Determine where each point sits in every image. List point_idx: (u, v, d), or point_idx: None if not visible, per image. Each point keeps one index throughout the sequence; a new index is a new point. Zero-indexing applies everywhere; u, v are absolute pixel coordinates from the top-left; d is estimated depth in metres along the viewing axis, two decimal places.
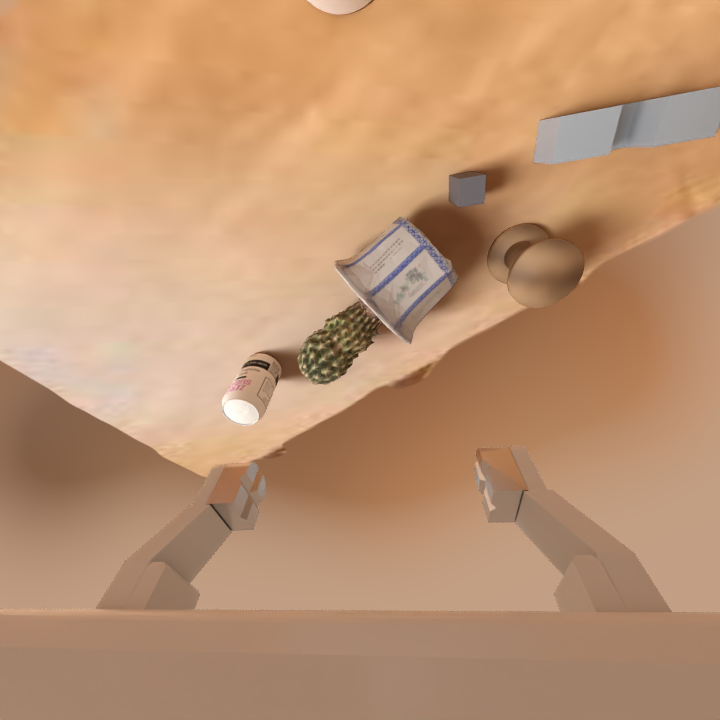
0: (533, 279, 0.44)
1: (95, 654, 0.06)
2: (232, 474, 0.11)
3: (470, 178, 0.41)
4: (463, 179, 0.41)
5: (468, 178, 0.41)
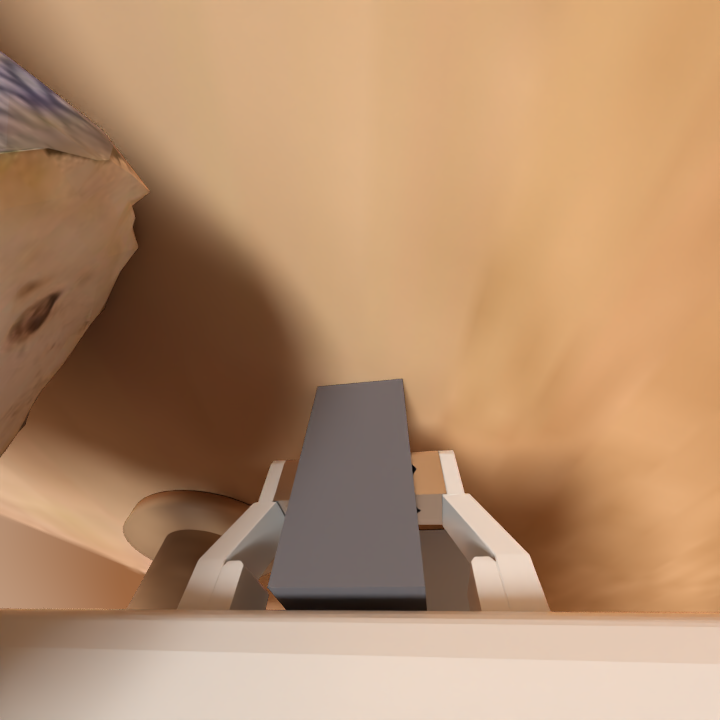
0: None
1: (95, 654, 0.06)
2: (294, 471, 0.10)
3: (420, 610, 0.07)
4: (419, 596, 0.07)
5: (421, 606, 0.07)
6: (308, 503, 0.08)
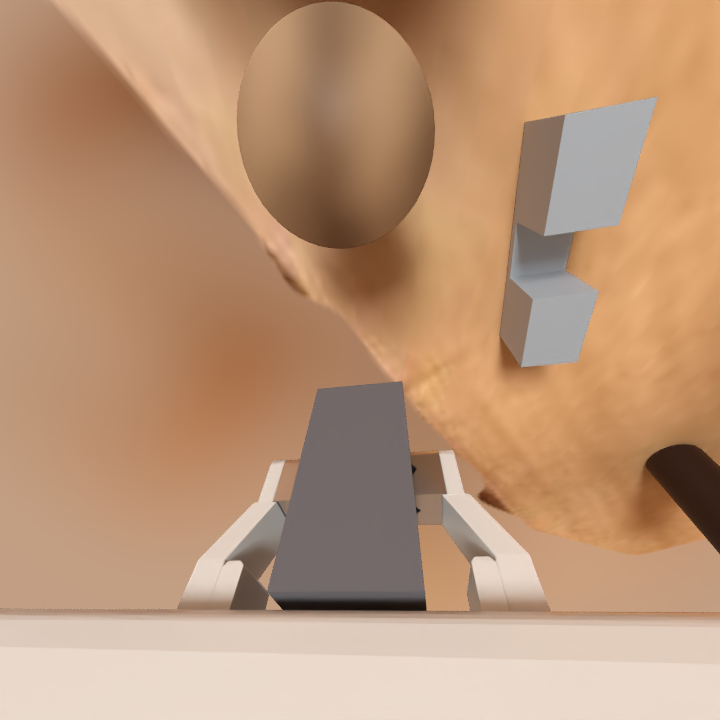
0: (322, 107, 0.14)
1: (95, 654, 0.06)
2: (294, 471, 0.10)
3: None
4: (419, 601, 0.07)
5: None
6: (308, 506, 0.08)
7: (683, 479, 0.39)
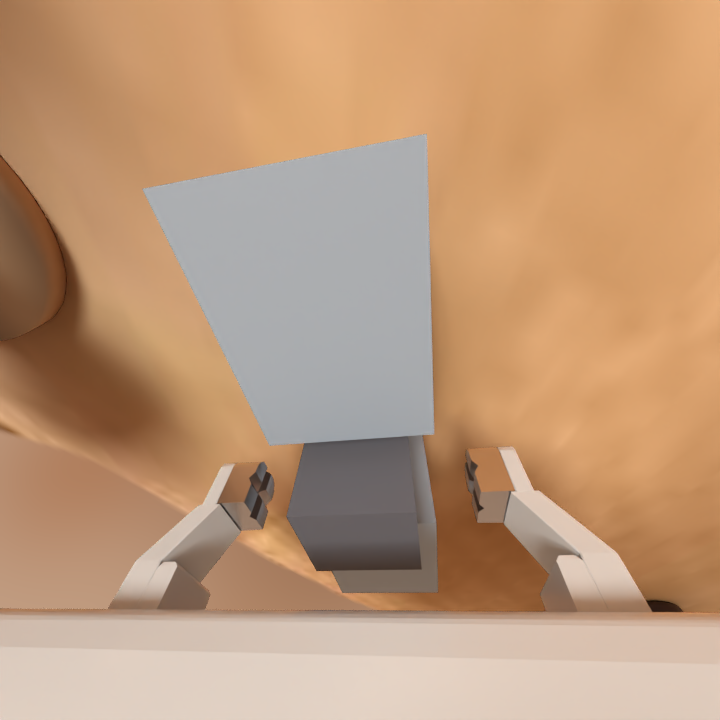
0: None
1: (95, 654, 0.06)
2: (241, 474, 0.11)
3: (413, 539, 0.09)
4: (412, 523, 0.08)
5: (413, 535, 0.08)
6: (318, 456, 0.10)
7: None
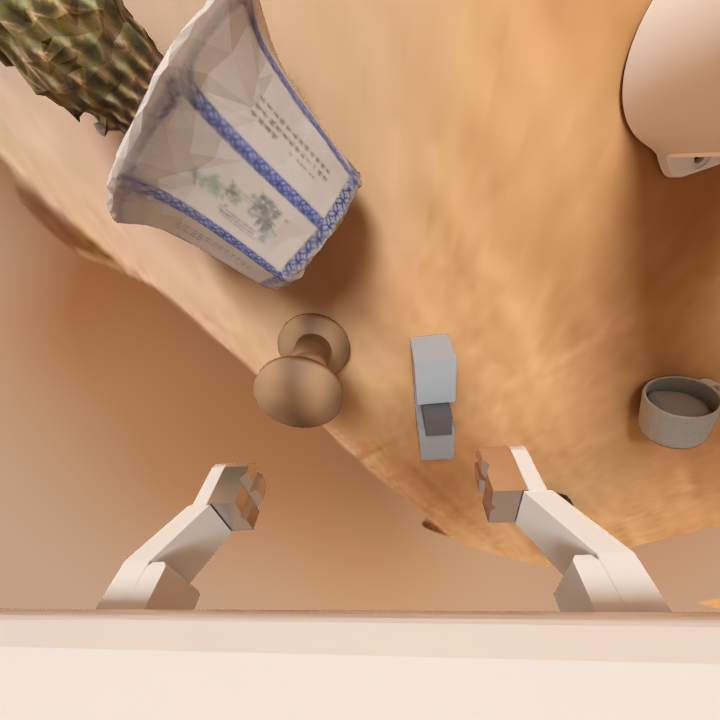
0: (291, 386, 0.33)
1: (95, 654, 0.06)
2: (232, 474, 0.11)
3: (450, 424, 0.40)
4: (451, 419, 0.39)
5: (451, 423, 0.40)
6: (427, 407, 0.41)
7: None
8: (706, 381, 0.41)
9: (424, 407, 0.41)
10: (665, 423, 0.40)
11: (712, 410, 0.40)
